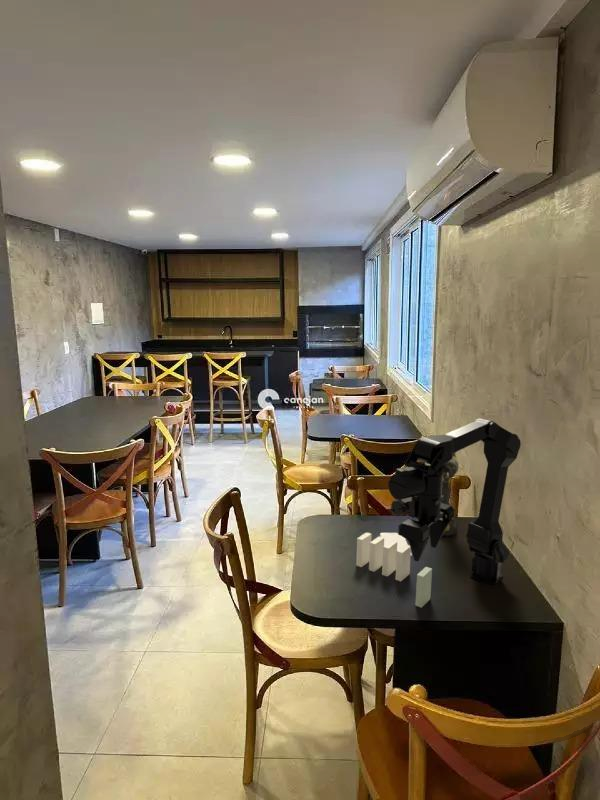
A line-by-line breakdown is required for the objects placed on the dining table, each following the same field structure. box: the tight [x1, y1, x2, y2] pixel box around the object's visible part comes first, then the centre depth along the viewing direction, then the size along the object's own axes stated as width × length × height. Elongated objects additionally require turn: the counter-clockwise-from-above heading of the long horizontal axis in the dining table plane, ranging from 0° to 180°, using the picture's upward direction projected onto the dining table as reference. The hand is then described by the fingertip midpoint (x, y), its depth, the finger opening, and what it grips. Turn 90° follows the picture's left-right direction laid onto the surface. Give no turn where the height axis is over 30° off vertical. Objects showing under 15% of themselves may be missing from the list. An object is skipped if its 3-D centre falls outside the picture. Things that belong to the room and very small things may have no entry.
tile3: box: [381, 540, 397, 577], centre depth 143 cm, size 2×5×8 cm, turn 142°
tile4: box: [368, 535, 384, 572], centre depth 145 cm, size 2×5×8 cm, turn 142°
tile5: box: [355, 532, 373, 568], centre depth 148 cm, size 2×5×8 cm, turn 142°
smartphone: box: [379, 532, 413, 557], centre depth 160 cm, size 7×1×15 cm
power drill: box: [429, 453, 459, 537], centre depth 168 cm, size 20×9×25 cm, turn 168°
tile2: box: [394, 544, 412, 582], centre depth 140 cm, size 2×5×8 cm, turn 142°
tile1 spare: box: [414, 566, 433, 608], centre depth 129 cm, size 2×5×8 cm, turn 142°
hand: (425, 553), depth 127 cm, fingers open, 9 cm apart
